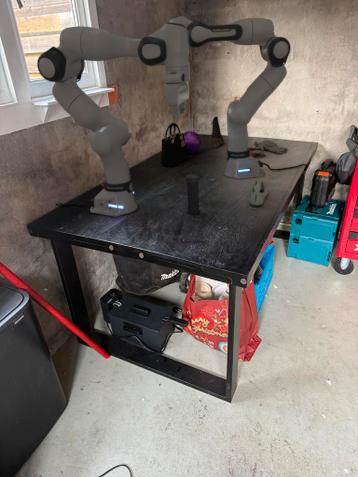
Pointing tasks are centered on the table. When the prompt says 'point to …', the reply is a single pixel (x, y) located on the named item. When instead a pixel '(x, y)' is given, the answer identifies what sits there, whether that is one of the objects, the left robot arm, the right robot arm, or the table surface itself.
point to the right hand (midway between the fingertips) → (179, 86)
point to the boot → (216, 133)
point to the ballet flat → (258, 193)
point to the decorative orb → (192, 141)
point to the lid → (192, 178)
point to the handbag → (173, 147)
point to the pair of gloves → (268, 146)
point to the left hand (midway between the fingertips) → (179, 115)
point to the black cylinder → (193, 198)
